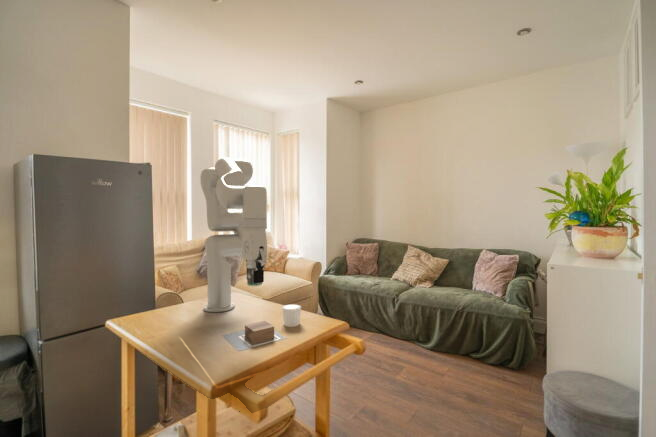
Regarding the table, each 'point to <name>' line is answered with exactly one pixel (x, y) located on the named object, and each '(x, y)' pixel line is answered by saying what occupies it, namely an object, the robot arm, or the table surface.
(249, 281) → the pill bottle
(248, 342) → the blueprint board
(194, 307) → the table surface
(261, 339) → the walnut base block
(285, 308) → the white cylinder
